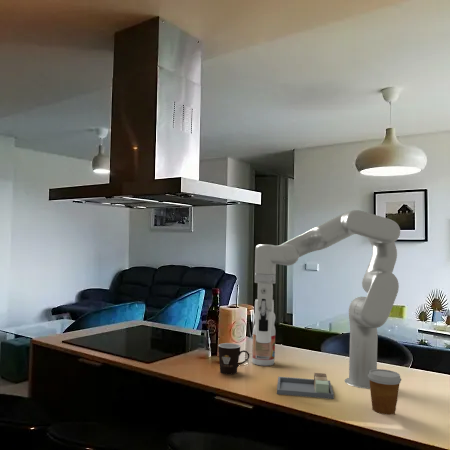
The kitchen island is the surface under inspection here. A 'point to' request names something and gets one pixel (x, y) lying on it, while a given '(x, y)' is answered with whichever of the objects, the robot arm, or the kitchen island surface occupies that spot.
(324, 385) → the sage painted block
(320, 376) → the walnut block
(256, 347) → the fruit juice
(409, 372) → the kitchen island surface
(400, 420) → the kitchen island surface
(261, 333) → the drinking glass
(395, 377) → the disposable coffee cup
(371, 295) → the robot arm
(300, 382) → the tray
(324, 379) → the beech block
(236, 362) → the coffee mug
